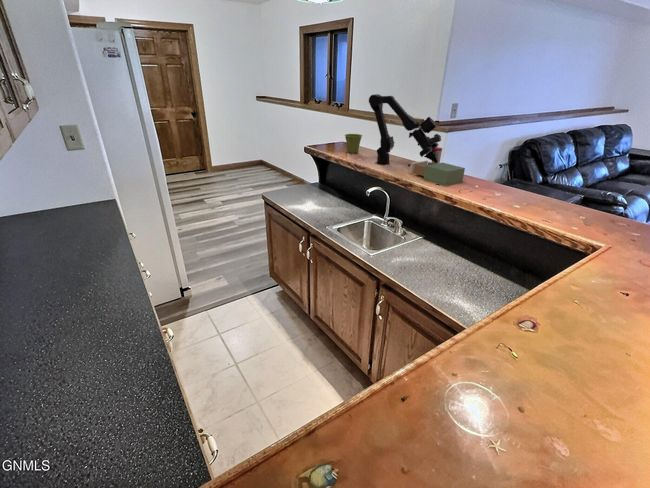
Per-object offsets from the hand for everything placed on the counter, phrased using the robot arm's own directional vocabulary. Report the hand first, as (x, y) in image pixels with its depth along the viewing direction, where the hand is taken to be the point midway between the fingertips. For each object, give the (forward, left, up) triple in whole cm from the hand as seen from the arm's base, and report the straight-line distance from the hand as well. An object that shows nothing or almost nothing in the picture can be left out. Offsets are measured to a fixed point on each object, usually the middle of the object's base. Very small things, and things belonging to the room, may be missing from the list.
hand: (438, 161), depth 193 cm
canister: (-1, 0, -5) cm, 5 cm away
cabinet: (+12, -16, -5) cm, 21 cm away
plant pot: (-64, +2, -5) cm, 64 cm away
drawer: (-1, -14, -4) cm, 14 cm away
